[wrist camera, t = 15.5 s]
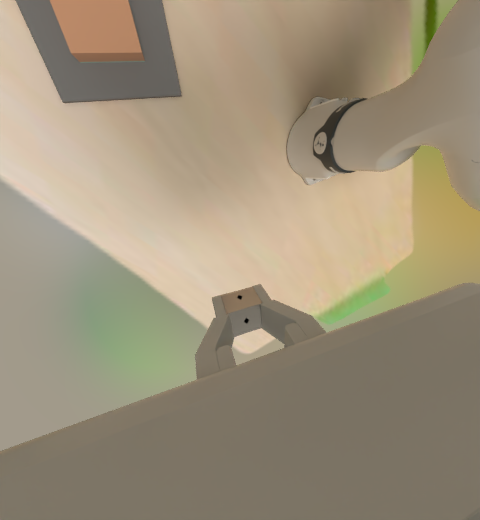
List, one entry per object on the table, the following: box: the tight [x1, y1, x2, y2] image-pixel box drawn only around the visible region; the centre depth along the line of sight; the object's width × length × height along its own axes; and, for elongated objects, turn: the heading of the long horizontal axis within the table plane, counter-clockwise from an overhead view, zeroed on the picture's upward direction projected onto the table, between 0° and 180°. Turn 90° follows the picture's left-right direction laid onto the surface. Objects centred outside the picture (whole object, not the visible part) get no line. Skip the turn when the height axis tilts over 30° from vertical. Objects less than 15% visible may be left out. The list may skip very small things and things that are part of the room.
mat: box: [16, 0, 182, 103], centre depth 27 cm, size 20×22×1 cm
